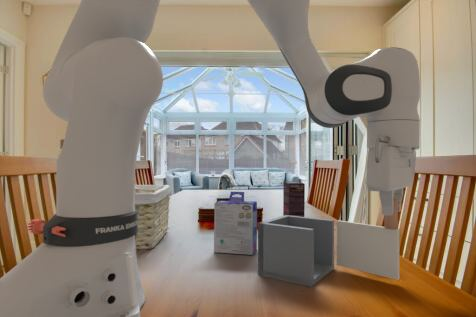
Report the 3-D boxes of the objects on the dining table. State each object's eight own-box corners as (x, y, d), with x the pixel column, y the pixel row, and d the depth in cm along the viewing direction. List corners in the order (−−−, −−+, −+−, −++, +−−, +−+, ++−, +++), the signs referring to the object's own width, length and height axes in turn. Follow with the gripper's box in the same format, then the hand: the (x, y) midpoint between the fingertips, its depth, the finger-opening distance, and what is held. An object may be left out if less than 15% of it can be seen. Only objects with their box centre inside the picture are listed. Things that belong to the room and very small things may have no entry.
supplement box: (305, 238, 94) (305, 183, 94) (288, 239, 94) (288, 183, 94) (298, 232, 103) (298, 181, 103) (282, 232, 102) (282, 181, 103)
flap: (400, 278, 60) (400, 198, 60) (396, 281, 58) (396, 198, 58) (340, 263, 68) (340, 193, 68) (335, 265, 67) (335, 194, 67)
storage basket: (155, 251, 81) (156, 191, 81) (88, 252, 80) (88, 191, 80) (171, 231, 105) (172, 184, 105) (120, 231, 104) (120, 184, 104)
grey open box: (311, 286, 58) (311, 230, 58) (257, 274, 64) (258, 223, 64) (334, 268, 68) (334, 220, 68) (285, 259, 74) (285, 215, 74)
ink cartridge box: (257, 249, 82) (258, 191, 83) (253, 256, 77) (254, 193, 77) (219, 247, 85) (219, 190, 85) (213, 253, 79) (213, 192, 79)
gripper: (398, 133, 51) (397, 223, 51) (421, 141, 67) (420, 209, 67) (356, 135, 55) (355, 218, 55) (388, 141, 71) (387, 206, 71)
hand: (391, 213), depth 61 cm, fingers open, 4 cm apart
